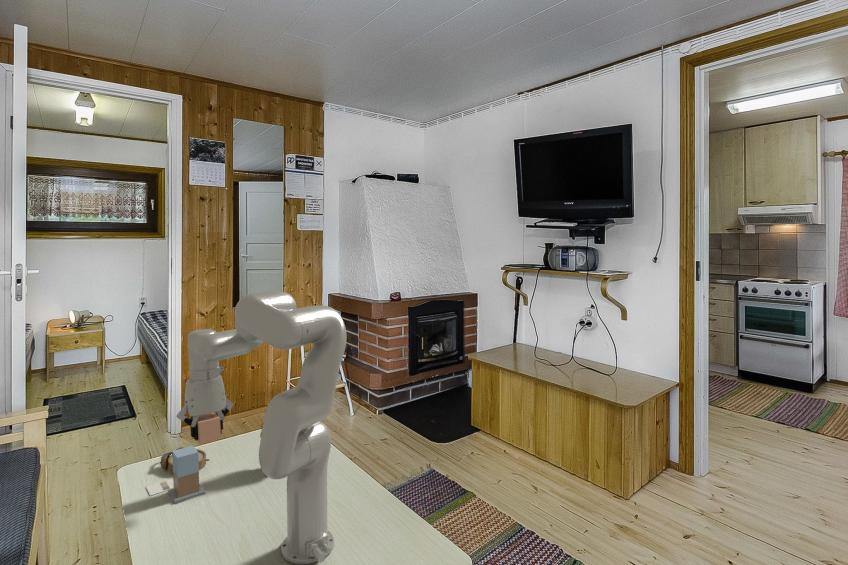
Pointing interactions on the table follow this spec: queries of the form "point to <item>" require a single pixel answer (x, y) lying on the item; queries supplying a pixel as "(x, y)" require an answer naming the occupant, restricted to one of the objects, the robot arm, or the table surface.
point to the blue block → (185, 461)
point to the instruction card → (160, 487)
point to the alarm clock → (168, 460)
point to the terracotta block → (208, 428)
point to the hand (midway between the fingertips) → (207, 435)
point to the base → (177, 500)
